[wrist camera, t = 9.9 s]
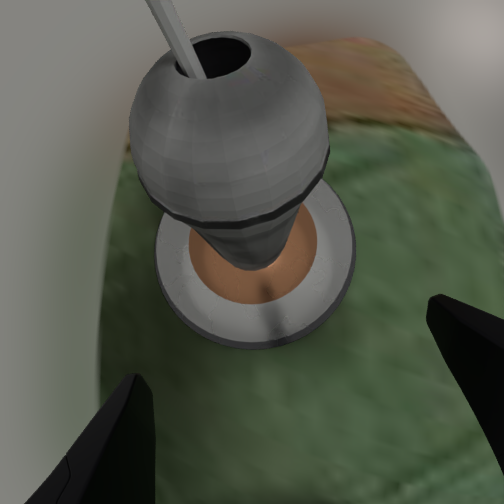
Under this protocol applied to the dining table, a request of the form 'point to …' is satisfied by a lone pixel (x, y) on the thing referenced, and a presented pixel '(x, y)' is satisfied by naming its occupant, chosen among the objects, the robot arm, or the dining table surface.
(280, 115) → the beverage cup
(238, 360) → the dining table surface
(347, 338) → the dining table surface
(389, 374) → the dining table surface
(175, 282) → the disc
